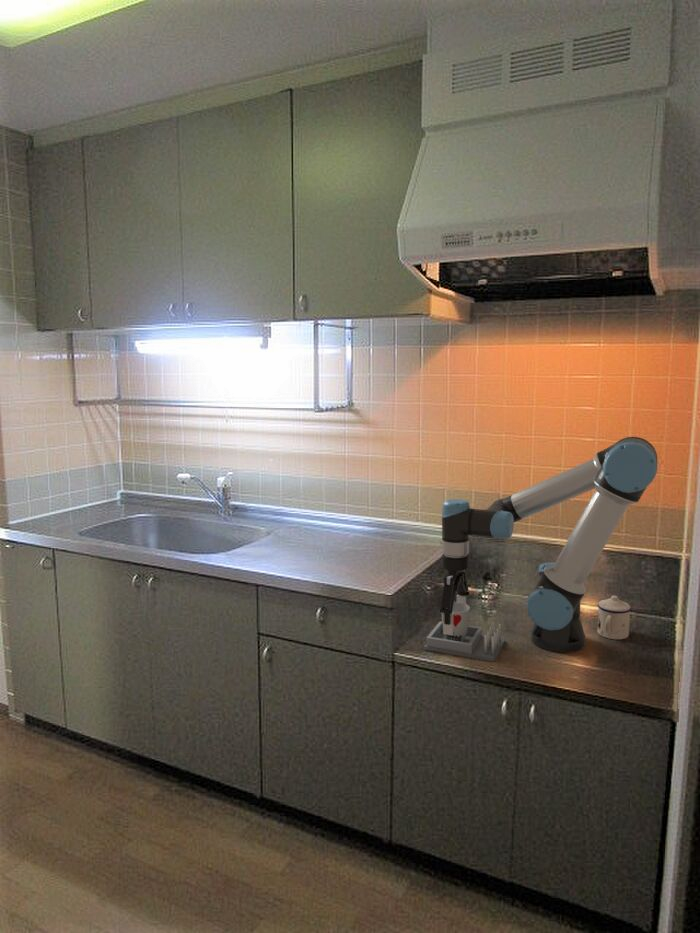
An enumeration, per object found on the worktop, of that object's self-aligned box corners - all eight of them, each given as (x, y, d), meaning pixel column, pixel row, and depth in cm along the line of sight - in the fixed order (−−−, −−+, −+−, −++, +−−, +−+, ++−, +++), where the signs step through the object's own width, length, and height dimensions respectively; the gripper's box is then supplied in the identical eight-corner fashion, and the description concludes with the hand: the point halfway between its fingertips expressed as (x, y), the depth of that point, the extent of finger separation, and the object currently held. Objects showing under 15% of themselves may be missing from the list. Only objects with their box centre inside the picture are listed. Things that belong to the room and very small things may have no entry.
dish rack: (505, 641, 191) (505, 622, 190) (494, 661, 179) (494, 641, 178) (438, 631, 199) (438, 612, 198) (424, 649, 187) (424, 629, 186)
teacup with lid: (601, 625, 201) (602, 589, 199) (632, 632, 196) (634, 594, 194) (590, 639, 192) (591, 601, 190) (622, 646, 186) (624, 607, 184)
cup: (436, 641, 190) (436, 608, 189) (450, 631, 196) (450, 599, 195) (460, 648, 185) (460, 614, 183) (474, 638, 191) (475, 605, 190)
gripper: (454, 541, 199) (454, 608, 202) (428, 565, 176) (429, 639, 180) (479, 544, 196) (478, 611, 199) (456, 568, 173) (455, 644, 177)
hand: (454, 625), depth 189 cm, fingers open, 13 cm apart
